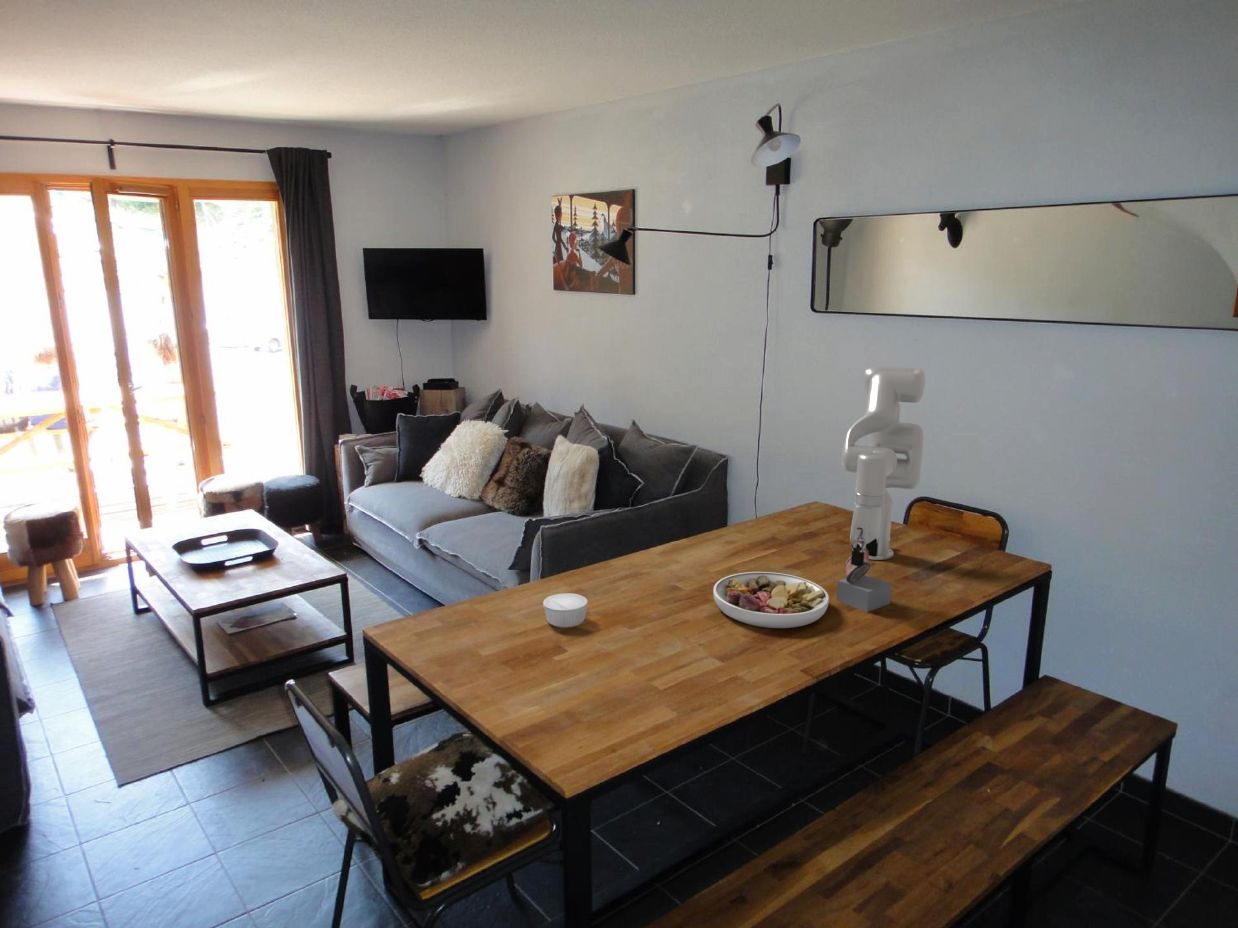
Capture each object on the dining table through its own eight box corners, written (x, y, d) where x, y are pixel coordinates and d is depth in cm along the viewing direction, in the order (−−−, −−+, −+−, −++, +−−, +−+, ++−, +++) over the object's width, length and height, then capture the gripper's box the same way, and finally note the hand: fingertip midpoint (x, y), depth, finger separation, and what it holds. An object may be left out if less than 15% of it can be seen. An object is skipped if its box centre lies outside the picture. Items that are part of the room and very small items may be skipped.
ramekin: (535, 625, 211) (535, 605, 210) (555, 608, 221) (555, 590, 220) (576, 632, 207) (576, 612, 206) (594, 615, 217) (594, 596, 216)
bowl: (745, 580, 244) (746, 554, 242) (844, 605, 227) (847, 577, 225) (691, 613, 220) (692, 585, 218) (798, 644, 203) (801, 613, 201)
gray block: (859, 592, 235) (861, 572, 234) (889, 604, 228) (891, 583, 226) (836, 601, 229) (837, 580, 228) (866, 613, 222) (868, 591, 220)
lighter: (873, 566, 223) (870, 547, 232) (864, 559, 222) (861, 540, 231) (852, 585, 226) (850, 566, 235) (843, 578, 226) (841, 559, 235)
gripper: (867, 490, 231) (862, 549, 235) (842, 503, 218) (837, 566, 222) (894, 495, 227) (889, 555, 231) (870, 509, 213) (865, 572, 217)
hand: (864, 560), depth 226 cm, fingers open, 9 cm apart
